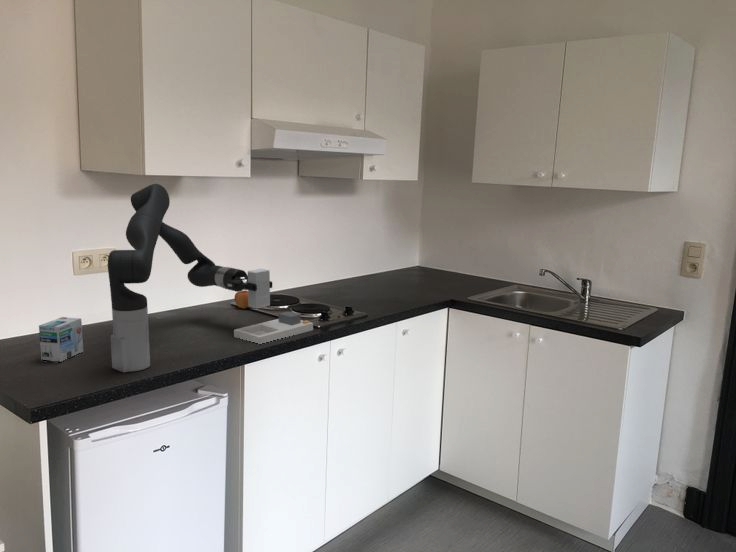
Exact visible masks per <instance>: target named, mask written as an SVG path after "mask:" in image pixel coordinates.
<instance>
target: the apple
mask: <svg viewBox="0 0 736 552" xmlns="http://www.w3.org/2000/svg"><path fill="white" fill-rule="evenodd" d="M234 301H235V305H236V307H238V308H240V309H243V310H245V309H247V307H248V308H250V307H249V306H248V290H242V291H240V292H235V295H234Z"/></svg>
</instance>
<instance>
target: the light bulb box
mask: <svg viewBox="0 0 736 552" xmlns="http://www.w3.org/2000/svg"><path fill="white" fill-rule="evenodd" d="M82 324H83V323H82V318H79V317H78V318H77V317H67V316H61V317H58V318H56V319H54V320H51V321H48V322H45V323H43V324H39V325H38V332H39V334H38V335H39V344H40V356H41V358H40V359H41V360H42V359H43V360H51V361H60V362H61V361H63V360H65V359H67V358H69V357H72V356H74V355H76V354H78V353H81V352H83V353H84V343H83V340H84V339H83V325H82Z"/></svg>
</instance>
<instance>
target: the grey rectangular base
mask: <svg viewBox="0 0 736 552" xmlns="http://www.w3.org/2000/svg"><path fill="white" fill-rule="evenodd" d="M301 316H302V315H301V314H299V313H296V312H293V311H283V312H280V313H278V318H277V319H273V320H268V321H264V322H259V323H256V324H251V325H247V326H243V327H240V328H236V329H233V337H234V338H236V339H239V338H240V340H242V339H243V340H242V341H246V340H247V341H246V342H249V341H251V342H250V343H252V342H255V343H258V344H257V345H259V344H262V343H265V344H267V343H266V342H269V343H271V342H270V341H272V342H274V341H273V340H276V341H278V340H277V339H279V340H282V339H281V338H283V339H286V338H290V337H293V335H294V336H297V335H299V334H300V335H301V334H305V333H307V332H312V331H314V323H313V322H311V321H310V320H302V318H301ZM289 336H290V337H289ZM285 337H286V338H285ZM255 343H254V344H255ZM262 345H263V344H262Z"/></svg>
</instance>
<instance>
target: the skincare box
mask: <svg viewBox="0 0 736 552" xmlns="http://www.w3.org/2000/svg"><path fill="white" fill-rule="evenodd" d="M270 274H271V273H270V269H269V270H268V269H265V268H257V269H251V270H248V271H247V275H248V283H252V284H256V285H257V291H251V290H247V291H248V306H249V307H248V308H254V309H260V308H266V307H269V306H270V305H271V288H270V281H271V280H270V279H271V278H270Z"/></svg>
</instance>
